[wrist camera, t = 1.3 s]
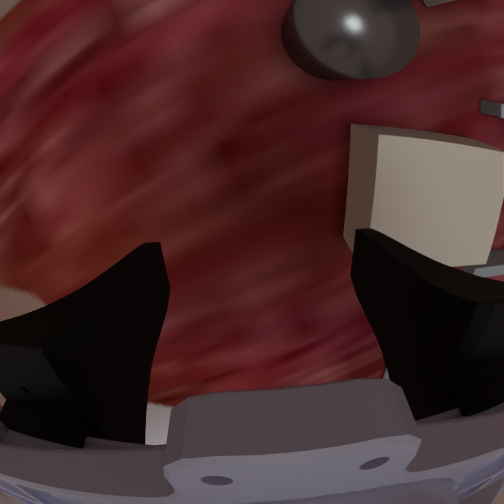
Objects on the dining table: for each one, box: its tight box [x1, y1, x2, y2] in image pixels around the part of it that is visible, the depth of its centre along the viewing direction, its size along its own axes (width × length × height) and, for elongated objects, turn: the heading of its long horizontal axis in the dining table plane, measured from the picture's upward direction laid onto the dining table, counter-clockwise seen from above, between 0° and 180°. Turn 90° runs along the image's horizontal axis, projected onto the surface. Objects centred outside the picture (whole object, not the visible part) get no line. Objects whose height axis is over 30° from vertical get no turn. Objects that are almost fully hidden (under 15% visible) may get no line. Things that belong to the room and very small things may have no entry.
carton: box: [343, 124, 504, 267], centre depth 19 cm, size 8×10×5 cm
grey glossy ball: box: [281, 0, 420, 80], centre depth 13 cm, size 6×6×6 cm
